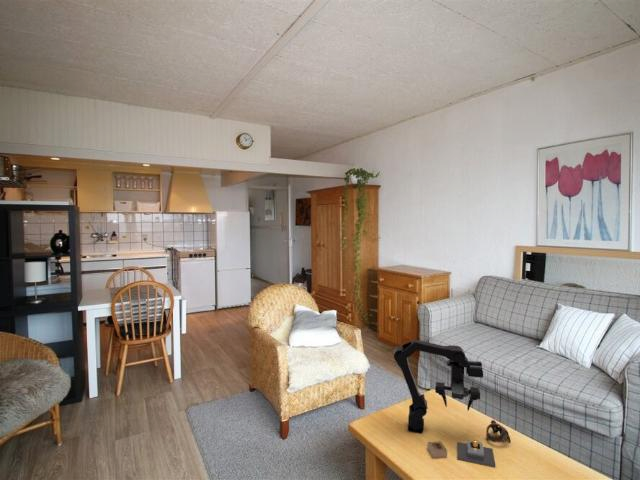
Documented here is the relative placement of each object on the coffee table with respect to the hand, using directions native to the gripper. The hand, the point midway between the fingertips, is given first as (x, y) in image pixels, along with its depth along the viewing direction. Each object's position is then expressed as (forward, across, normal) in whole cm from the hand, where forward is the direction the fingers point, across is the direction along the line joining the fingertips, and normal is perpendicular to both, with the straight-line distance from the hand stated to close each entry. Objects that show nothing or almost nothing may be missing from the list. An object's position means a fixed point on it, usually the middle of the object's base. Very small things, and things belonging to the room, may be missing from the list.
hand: (456, 408), depth 160 cm
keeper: (+12, +7, -13) cm, 19 cm away
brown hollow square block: (+12, -8, -16) cm, 22 cm away
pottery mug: (+12, +17, +2) cm, 21 cm away
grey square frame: (+11, +7, -13) cm, 18 cm away
